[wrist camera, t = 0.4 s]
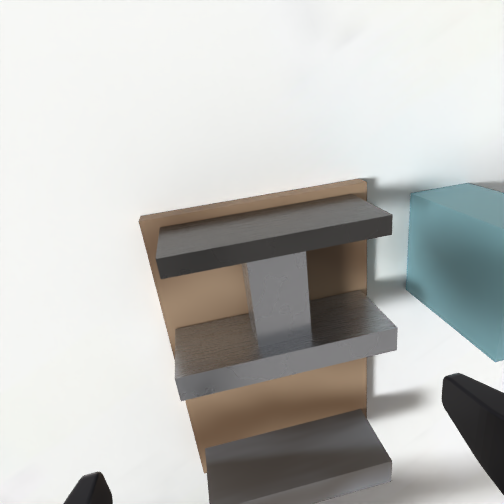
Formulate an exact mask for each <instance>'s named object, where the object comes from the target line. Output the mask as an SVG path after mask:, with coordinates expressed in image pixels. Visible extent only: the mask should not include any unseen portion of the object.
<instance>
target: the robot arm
mask: <svg viewBox="0 0 504 504" xmlns="http://www.w3.org/2000/svg"><path fill="white" fill-rule="evenodd" d="M442 403H443V406H444V408H445V410H446V411H447V413H448V415H449V416H450V418H451V419H452V421H453V422H454V424H455V426H456V427H457V429H458V430H459V432H460V434H461V435H462V437H463V438H464V440H465V441H466V443H467V445H468V446H469V448H470V449H471V451H472V453H473V454H474V456H475V457H476V459H477V460H478V462H479V463H480V465H481V466H482V467H483V469H484V470H485V471H486V473H487V474H488V475H489V477H490V478H491V479H492V481H493V482H494V483H495V484H496V486H497V487H498V488H499V490H500V491H501V492H502V494H503V495H504V393H503V392H500V391H498V390H496V389H494V388H492V387H489V386H487V385H485V384H483V383H481V382H478V381H476V380H474V379H472V378H470V377H467V376H465V375H463V374H460V373H456V374H452V375H448V376H445V377H444V379H443V387H442ZM63 504H113V501H112V494H111V491H110V489H109V487H108V485H107V483H106V480H105V478H104V476H103V474H102V473H101V472H95V473H91V474H87V475H84V476H83V477H82V478H81V479H80V480H79V481H78V483H77V484H76V486H75V487H74V489H73V490H72V492H71V493H70V495H69V496H68V498H67V499H66V501H65V502H64V503H63Z"/></svg>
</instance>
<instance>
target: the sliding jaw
mask: <svg viewBox="0 0 504 504" xmlns="http://www.w3.org/2000/svg"><path fill="white" fill-rule="evenodd" d="M387 235H392V214H390V213H388V212H386V211H384V210H382V209H380V208H378V207H376V206H374V205H372V204H371V203H369V202H367V201H365V200H363V199H361V198H359V197H357V196H355V195H353V194H347V195H341V196H336V197H330V198H324V199H319V200H313V201H307V202H301V203H296V204H290V205H284V206H279V207H273V208H267V209H262V210H256V211H250V212H245V213H239V214H233V215H228V216H222V217H216V218H211V219H205V220H199V221H194V222H188V223H182V224H177V225H171V226H165V227H160V229H159V237H158V244H157V251H156V263H157V267H158V271H159V275H160V279H166V278H171V277H176V276H181V275H186V274H191V273H197V272H202V271H207V270H212V269H217V268H222V267H228V266H233V265H238V264H242V271H243V277H244V284H245V291H246V297H247V304H248V311H249V314H244V315H240V316H235V317H230V318H225V319H221V320H216V321H211V322H207V323H202V324H197V325H192V326H188V327H183V328H178V329H175V381H176V385H177V388H178V392H179V396H180V400H181V401H184V400H188V399H192V398H197V397H201V396H205V395H209V394H214V393H218V392H222V391H226V390H230V389H235V388H239V387H243V386H247V385H251V384H256V383H260V382H264V381H268V380H273V379H277V378H281V377H285V376H289V375H294V374H298V373H302V372H306V371H310V370H315V369H319V368H323V367H327V366H332V365H336V364H340V363H344V362H348V361H353V360H357V359H361V358H365V357H369V356H374V355H378V354H382V353H386V352H390V351H395V350H397V327H396V326H395V325H394V324H393V323H392V322H391V321H390V320H389V319H388V318H387V317H386V315H385V314H384V313H383V312H382V311H381V310H380V309H379V308H378V307H377V306H376V305H375V304H374V303H373V302H372V301H371V300H370V299H369V298H368V297H367V296H366V295H365V294H364V293H363V292H362V291H361V290H357V291H353V292H348V293H343V294H339V295H334V296H329V297H324V298H320V299H315V300H310V301H309V289H308V275H307V261H306V251H310V250H315V249H320V248H325V247H331V246H336V245H341V244H346V243H351V242H356V241H362V240H367V239H372V238H377V237H382V236H387Z"/></svg>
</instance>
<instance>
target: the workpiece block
mask: <svg viewBox="0 0 504 504" xmlns="http://www.w3.org/2000/svg"><path fill="white" fill-rule="evenodd" d="M406 290H407V291H408V292H410V293H411V294H412V295H413V296H414V297H416V298H417V299H418V300H419V301H421V302H422V303H423V304H424V305H426V306H427V307H428V308H429V309H430V310H432V311H433V312H434V313H435V314H437V315H438V316H439V317H440V318H441V319H443V320H444V321H445V322H446V323H448V324H449V325H450V326H451V327H453V328H454V329H455V330H456V331H457V332H459V333H460V334H461V335H462V336H464V337H465V338H466V339H467V340H469V341H470V342H471V343H472V344H473V345H475V346H476V347H477V348H478V349H480V350H481V351H482V352H483V353H485V354H486V355H487V356H488V357H489V358H491V359H492V360H493V361H494V362H498V361H502V360H504V193H502V192H499V191H495V190H491V189H488V188H484V187H481V186H477V185H473V184H470V183H465V184H459V185H454V186H448V187H443V188H437V189H431V190H426V191H420V192H415V193H411V198H410V218H409V238H408V258H407V278H406Z"/></svg>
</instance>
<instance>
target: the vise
mask: <svg viewBox="0 0 504 504" xmlns="http://www.w3.org/2000/svg"><path fill="white" fill-rule="evenodd" d="M347 194H353V195H355V196H357V197H359V198H361V199H363V200H365V201H367V182H366V181H363V180H361V179H355V180H349V181H343V182H337V183H331V184H326V185H320V186H314V187H308V188H302V189H296V190H291V191H285V192H279V193H273V194H267V195H261V196H256V197H250V198H244V199H238V200H232V201H226V202H220V203H215V204H209V205H203V206H197V207H191V208H185V209H180V210H174V211H168V212H162V213H156V214H150V215H145V216H140V219H139V224H140V228H141V232H142V235H143V239H144V243H145V247H146V251H147V255H148V259H149V262H150V266H151V270H152V274H153V278H154V282H155V286H156V289H157V293H158V297H159V301H160V305H161V309H162V313H163V316H164V320H165V324H166V328H167V332H168V336H169V340H170V343H171V347H172V351H173V355H174V359H175V329H178V328H183V327H188V326H192V325H197V324H202V323H207V322H211V321H216V320H221V319H225V318H230V317H235V316H240V315H244V314H249V311H248V304H247V297H246V291H245V284H244V277H243V271H242V264H238V265H233V266H228V267H222V268H217V269H212V270H207V271H202V272H197V273H191V274H186V275H181V276H176V277H171V278H166V279H160V275H159V271H158V267H157V263H156V251H157V244H158V237H159V229H160V227H165V226H171V225H177V224H182V223H188V222H194V221H199V220H205V219H211V218H216V217H222V216H228V215H233V214H239V213H245V212H250V211H256V210H262V209H267V208H273V207H279V206H284V205H290V204H296V203H301V202H307V201H313V200H319V199H324V198H330V197H336V196H341V195H347ZM306 261H307V275H308V289H309V301H310V300H315V299H320V298H324V297H329V296H334V295H339V294H343V293H348V292H353V291H357V290H361V291H362V292H363V293H364V294H365V295H366V296H367V240H362V241H356V242H351V243H346V244H341V245H336V246H331V247H325V248H320V249H315V250H310V251H306ZM185 401H186V405H187V409H188V413H189V417H190V421H191V424H192V428H193V432H194V436H195V440H196V444H197V448H198V451H199V455H200V459H201V463H202V467H203V471H204V473H207V478H208V490H209V502H210V504H314V503H317V502H321V501H324V500H328V499H331V498H335V497H338V496H342V495H345V494H349V493H352V492H356V491H359V490H363V489H366V488H370V487H373V486H377V485H380V484H384V483H387V482H391V473H392V460H391V459H390V457H389V455H388V454H387V452H386V450H385V449H384V447H383V445H382V444H381V442H380V440H379V439H378V437H377V435H376V434H375V432H374V430H373V429H372V427H371V425H370V424H369V422H368V420H367V357H365V358H361V359H357V360H353V361H348V362H344V363H340V364H336V365H332V366H327V367H323V368H319V369H315V370H310V371H306V372H302V373H298V374H294V375H289V376H285V377H281V378H277V379H273V380H268V381H264V382H260V383H256V384H251V385H247V386H243V387H239V388H235V389H230V390H226V391H222V392H218V393H214V394H209V395H205V396H201V397H197V398H192V399H188V400H185Z"/></svg>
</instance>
